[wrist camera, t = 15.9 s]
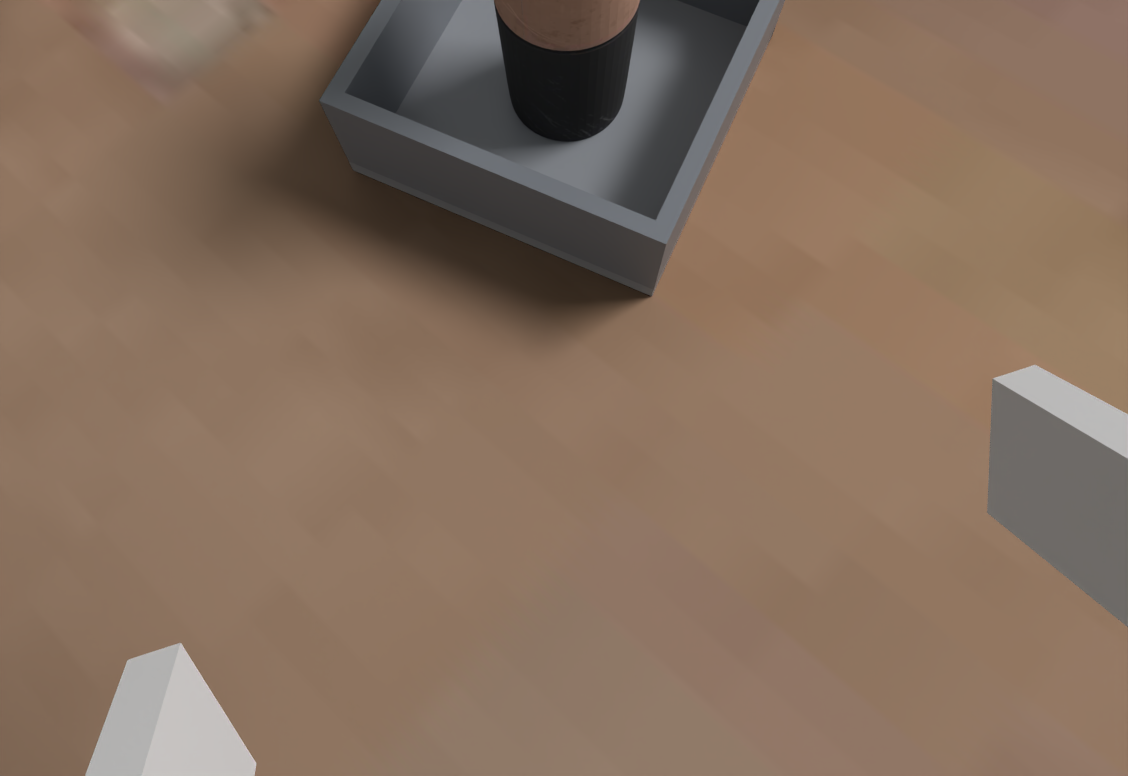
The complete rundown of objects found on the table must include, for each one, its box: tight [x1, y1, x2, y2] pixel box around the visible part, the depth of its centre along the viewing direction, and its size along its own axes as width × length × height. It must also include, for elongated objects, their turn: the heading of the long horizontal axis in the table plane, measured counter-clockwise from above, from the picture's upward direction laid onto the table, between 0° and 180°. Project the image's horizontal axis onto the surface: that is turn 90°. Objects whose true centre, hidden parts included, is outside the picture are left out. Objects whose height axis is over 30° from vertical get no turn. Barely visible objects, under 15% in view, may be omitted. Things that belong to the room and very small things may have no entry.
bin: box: [319, 0, 785, 296], centre depth 47 cm, size 20×20×7 cm
